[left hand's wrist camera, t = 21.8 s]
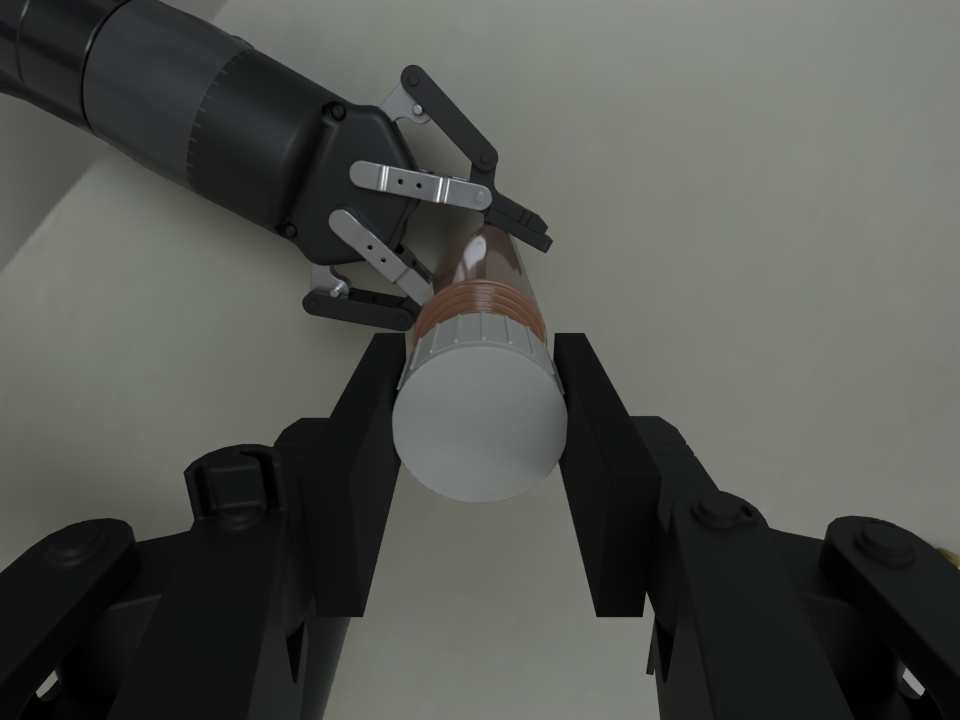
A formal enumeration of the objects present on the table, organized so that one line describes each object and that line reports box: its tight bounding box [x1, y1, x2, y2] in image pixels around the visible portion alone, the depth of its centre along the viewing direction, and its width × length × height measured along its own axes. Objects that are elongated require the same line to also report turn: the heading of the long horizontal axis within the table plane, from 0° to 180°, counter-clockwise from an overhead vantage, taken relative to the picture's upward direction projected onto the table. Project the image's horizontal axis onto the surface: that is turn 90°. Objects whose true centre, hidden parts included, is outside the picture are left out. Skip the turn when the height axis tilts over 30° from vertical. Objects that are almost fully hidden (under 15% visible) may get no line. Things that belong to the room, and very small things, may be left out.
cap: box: [392, 312, 568, 503], centre depth 13 cm, size 4×4×2 cm
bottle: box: [413, 209, 547, 350], centre depth 24 cm, size 4×4×24 cm
